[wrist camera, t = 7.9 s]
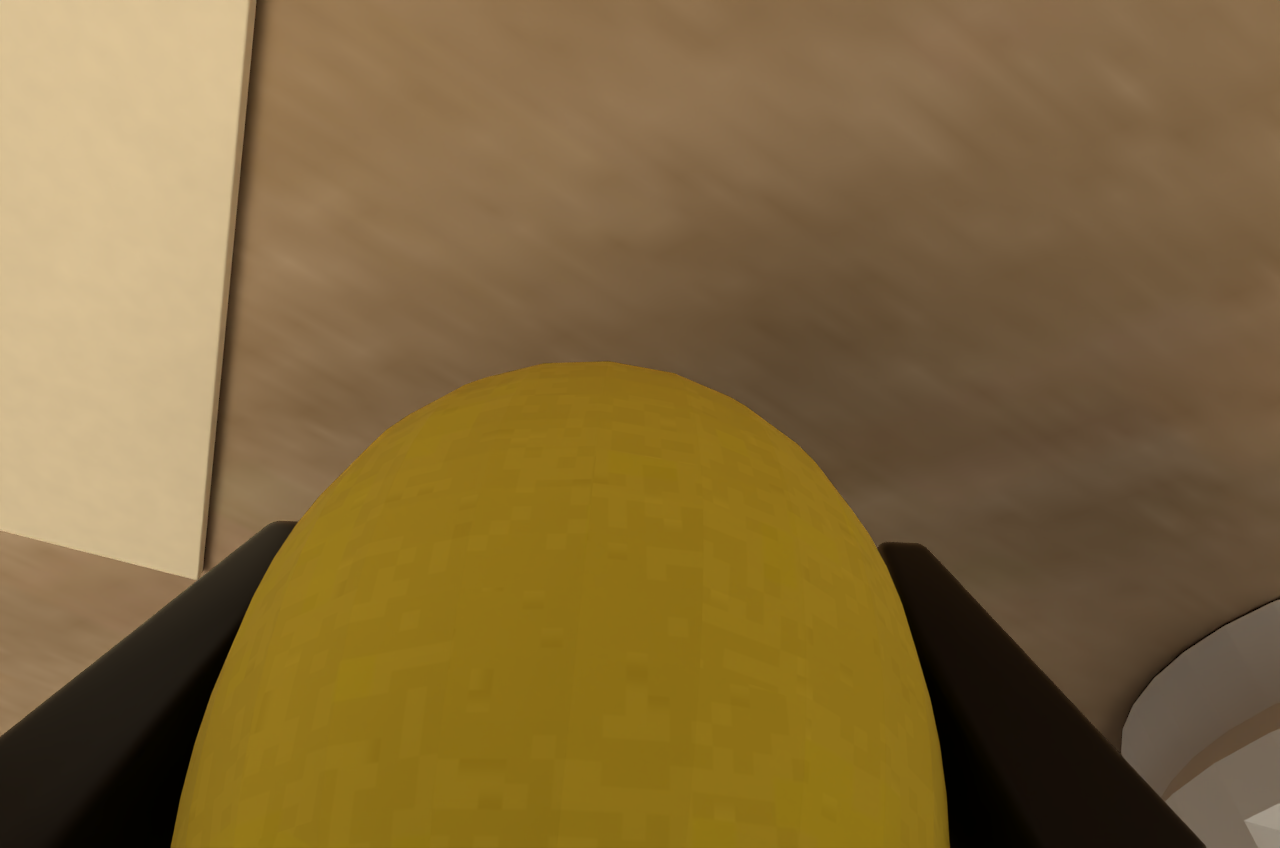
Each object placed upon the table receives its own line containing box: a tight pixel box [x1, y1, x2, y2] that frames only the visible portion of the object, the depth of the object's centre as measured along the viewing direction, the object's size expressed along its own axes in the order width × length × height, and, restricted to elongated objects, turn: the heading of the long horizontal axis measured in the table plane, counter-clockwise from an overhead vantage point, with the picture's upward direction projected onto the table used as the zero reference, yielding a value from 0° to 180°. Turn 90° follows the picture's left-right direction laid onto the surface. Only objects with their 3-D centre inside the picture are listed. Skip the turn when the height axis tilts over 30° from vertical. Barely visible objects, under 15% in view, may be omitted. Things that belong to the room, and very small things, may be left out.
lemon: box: [171, 361, 950, 848], centre depth 7 cm, size 6×6×8 cm
